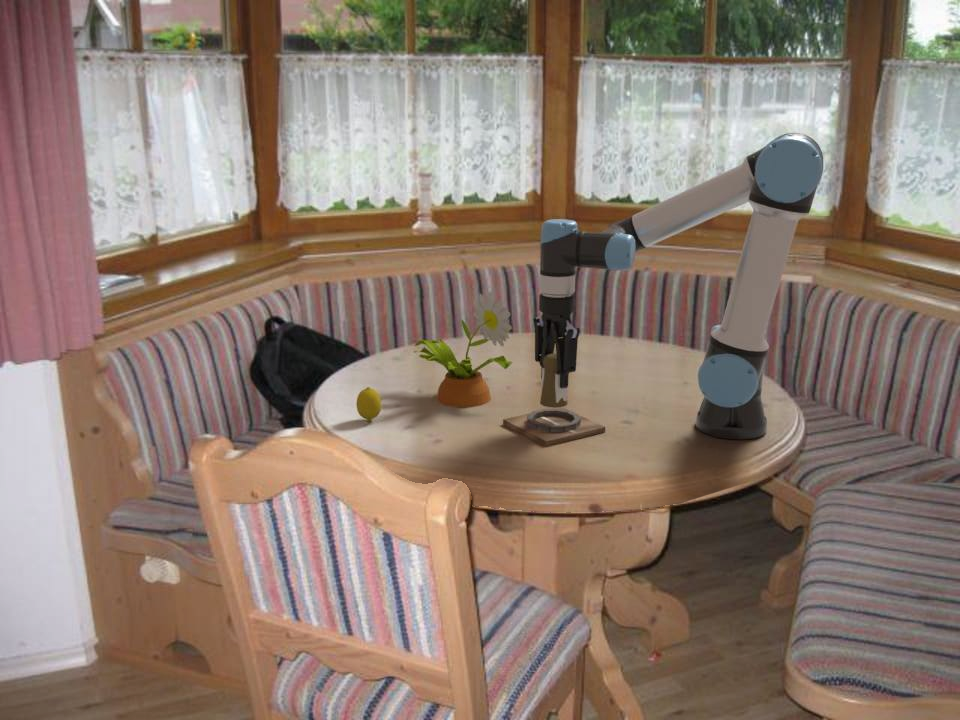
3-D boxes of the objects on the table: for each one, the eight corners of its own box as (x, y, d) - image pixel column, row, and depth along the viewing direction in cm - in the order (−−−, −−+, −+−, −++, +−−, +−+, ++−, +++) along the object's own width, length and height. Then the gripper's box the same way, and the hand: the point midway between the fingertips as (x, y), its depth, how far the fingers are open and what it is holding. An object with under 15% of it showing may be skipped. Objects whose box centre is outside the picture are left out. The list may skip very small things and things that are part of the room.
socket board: (605, 432, 214) (605, 421, 213) (546, 446, 205) (546, 435, 205) (560, 411, 226) (560, 401, 226) (503, 424, 218) (503, 413, 217)
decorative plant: (532, 400, 234) (534, 297, 227) (459, 424, 218) (458, 315, 211) (455, 376, 253) (455, 280, 246) (382, 396, 237) (379, 295, 230)
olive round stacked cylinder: (565, 398, 217) (567, 350, 214) (569, 407, 211) (570, 358, 208) (538, 398, 217) (539, 350, 214) (541, 407, 211) (542, 358, 208)
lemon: (358, 426, 217) (356, 391, 215) (356, 417, 222) (355, 384, 220) (383, 424, 218) (382, 390, 216) (380, 416, 223) (379, 382, 221)
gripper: (596, 299, 202) (592, 406, 209) (547, 284, 216) (544, 385, 223) (567, 303, 198) (564, 412, 205) (519, 288, 212) (517, 390, 219)
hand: (553, 398), depth 214 cm, fingers closed on olive round stacked cylinder, 4 cm apart
